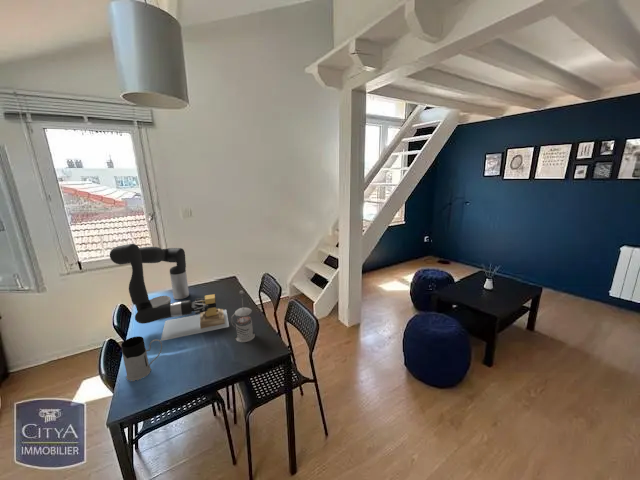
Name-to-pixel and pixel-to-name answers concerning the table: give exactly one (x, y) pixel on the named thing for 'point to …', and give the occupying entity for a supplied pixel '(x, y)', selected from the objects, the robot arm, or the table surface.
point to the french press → (245, 331)
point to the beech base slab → (212, 319)
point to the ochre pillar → (209, 300)
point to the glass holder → (136, 358)
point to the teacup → (160, 301)
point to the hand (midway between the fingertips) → (215, 302)
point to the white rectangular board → (188, 326)
